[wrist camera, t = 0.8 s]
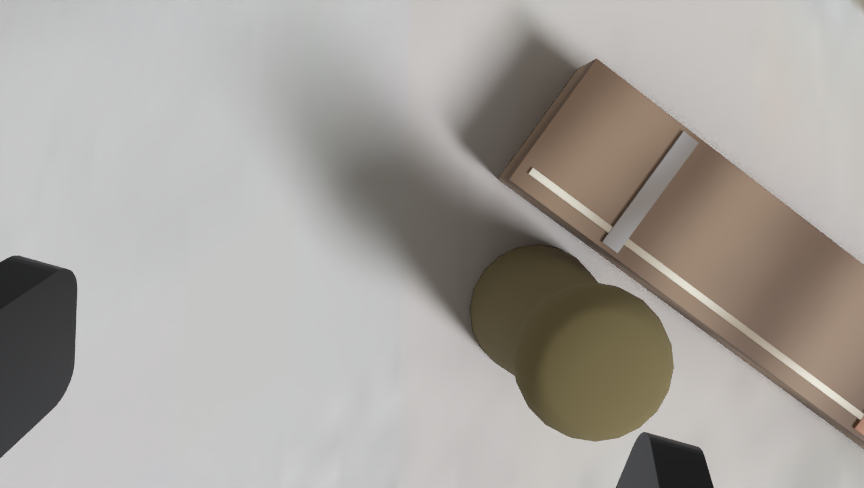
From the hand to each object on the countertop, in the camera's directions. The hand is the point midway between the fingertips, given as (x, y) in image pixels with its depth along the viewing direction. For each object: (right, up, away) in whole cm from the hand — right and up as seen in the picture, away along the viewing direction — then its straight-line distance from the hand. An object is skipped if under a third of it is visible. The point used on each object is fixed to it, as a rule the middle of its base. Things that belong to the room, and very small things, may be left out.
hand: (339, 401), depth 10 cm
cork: (+6, -1, +24) cm, 25 cm away
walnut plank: (+16, +1, +24) cm, 29 cm away
